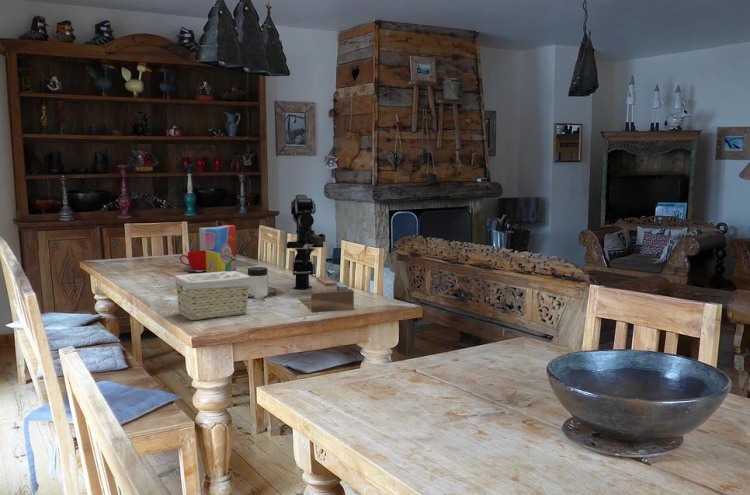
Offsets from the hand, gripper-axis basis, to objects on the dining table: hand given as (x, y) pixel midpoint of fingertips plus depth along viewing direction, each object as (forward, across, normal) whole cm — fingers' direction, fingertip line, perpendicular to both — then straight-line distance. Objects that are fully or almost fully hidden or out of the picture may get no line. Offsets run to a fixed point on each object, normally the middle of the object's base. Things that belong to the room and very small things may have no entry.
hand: (305, 265), depth 279 cm
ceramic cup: (+5, +22, +85) cm, 88 cm away
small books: (+16, -11, -25) cm, 32 cm away
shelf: (+16, -12, -18) cm, 26 cm away
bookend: (+15, -20, -19) cm, 31 cm away
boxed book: (+15, -13, -20) cm, 28 cm away
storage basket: (+17, -44, +10) cm, 48 cm away
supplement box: (-1, +64, +114) cm, 131 cm away
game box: (+10, -2, +46) cm, 47 cm away
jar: (+13, -11, +17) cm, 24 cm away
